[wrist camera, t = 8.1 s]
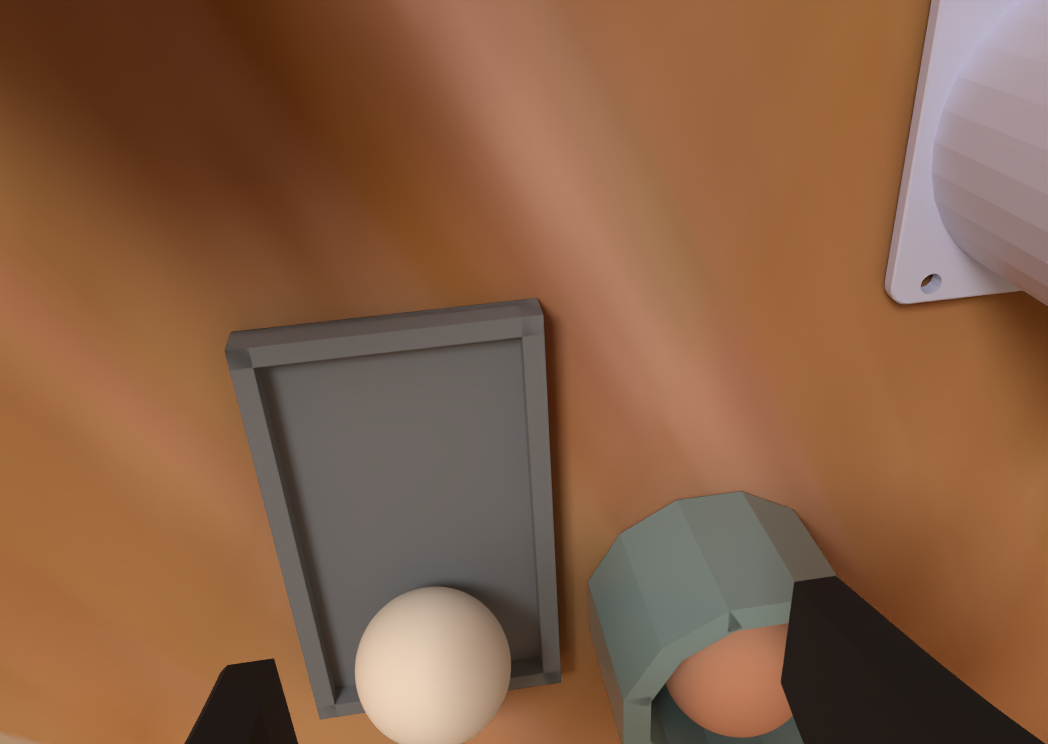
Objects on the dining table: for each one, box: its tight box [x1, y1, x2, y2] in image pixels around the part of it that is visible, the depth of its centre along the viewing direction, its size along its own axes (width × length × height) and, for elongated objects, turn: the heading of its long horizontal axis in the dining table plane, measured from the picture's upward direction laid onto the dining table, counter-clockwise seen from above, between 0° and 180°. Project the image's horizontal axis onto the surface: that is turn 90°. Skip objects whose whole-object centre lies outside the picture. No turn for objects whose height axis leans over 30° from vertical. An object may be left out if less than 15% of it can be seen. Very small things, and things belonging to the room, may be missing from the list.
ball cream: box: [355, 586, 511, 744], centre depth 22 cm, size 4×4×4 cm
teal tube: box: [588, 491, 838, 744], centre depth 24 cm, size 7×7×4 cm
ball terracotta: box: [665, 623, 793, 738], centre depth 23 cm, size 4×4×4 cm
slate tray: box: [225, 298, 561, 719], centre depth 22 cm, size 7×12×1 cm, turn 3°
